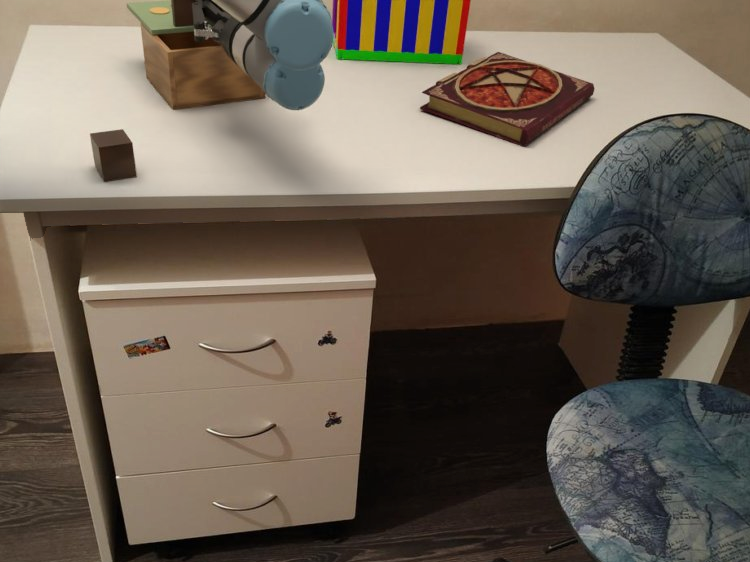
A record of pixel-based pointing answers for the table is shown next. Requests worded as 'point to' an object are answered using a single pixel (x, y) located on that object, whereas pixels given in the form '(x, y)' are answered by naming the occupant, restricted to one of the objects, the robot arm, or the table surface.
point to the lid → (165, 16)
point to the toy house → (400, 30)
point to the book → (507, 97)
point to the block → (113, 155)
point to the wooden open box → (194, 71)
